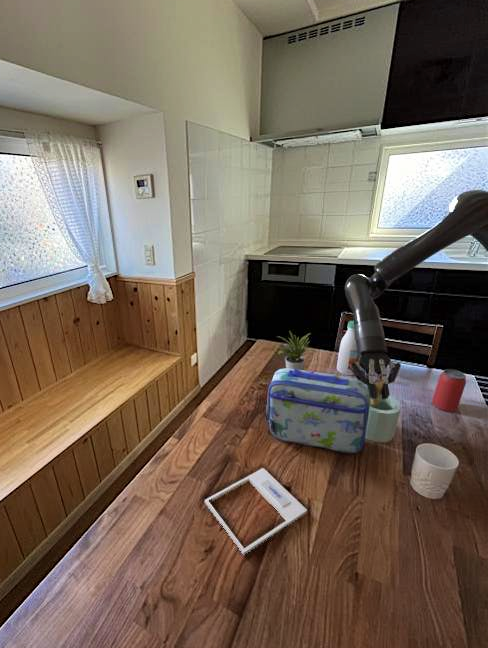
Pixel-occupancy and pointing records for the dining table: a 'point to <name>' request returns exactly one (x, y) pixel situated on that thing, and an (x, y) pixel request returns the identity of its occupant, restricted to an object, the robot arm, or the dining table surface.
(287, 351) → the house plant
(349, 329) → the milk bottle
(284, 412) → the lunch box
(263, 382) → the dining table surface
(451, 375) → the beer can
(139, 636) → the dining table surface
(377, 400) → the brush
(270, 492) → the photo frame
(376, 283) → the robot arm
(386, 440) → the jar
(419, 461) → the white cup
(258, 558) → the dining table surface
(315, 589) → the dining table surface
